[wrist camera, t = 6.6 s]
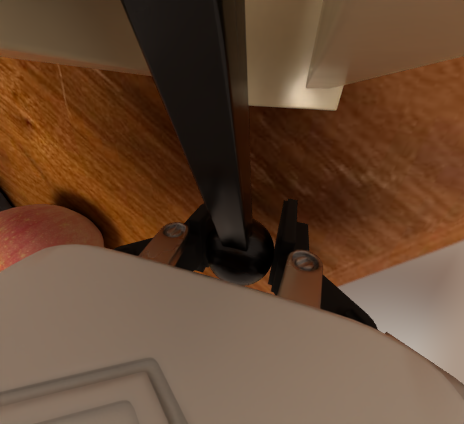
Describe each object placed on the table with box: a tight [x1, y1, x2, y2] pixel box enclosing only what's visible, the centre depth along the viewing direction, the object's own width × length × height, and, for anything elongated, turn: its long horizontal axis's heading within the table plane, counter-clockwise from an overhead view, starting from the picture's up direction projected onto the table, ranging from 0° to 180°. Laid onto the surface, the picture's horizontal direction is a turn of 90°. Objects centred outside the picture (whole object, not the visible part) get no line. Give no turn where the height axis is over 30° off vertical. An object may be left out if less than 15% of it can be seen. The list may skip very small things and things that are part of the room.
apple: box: [0, 204, 104, 272], centre depth 18 cm, size 9×9×8 cm
